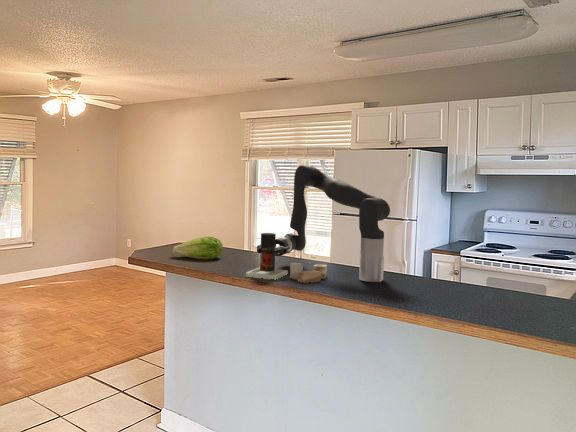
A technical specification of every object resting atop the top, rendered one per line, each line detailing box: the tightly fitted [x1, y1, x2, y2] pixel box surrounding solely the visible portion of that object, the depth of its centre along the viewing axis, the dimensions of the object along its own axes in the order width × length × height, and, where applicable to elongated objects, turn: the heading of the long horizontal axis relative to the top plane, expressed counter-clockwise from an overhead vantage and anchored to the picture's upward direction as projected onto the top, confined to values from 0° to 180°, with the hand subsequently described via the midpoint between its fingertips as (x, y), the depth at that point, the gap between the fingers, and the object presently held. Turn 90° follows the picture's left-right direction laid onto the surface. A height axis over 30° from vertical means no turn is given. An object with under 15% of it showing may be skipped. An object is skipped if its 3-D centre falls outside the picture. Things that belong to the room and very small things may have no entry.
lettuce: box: [172, 236, 224, 260], centre depth 238 cm, size 12×24×13 cm
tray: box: [245, 267, 289, 281], centre depth 198 cm, size 13×13×2 cm
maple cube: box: [312, 263, 328, 280], centre depth 199 cm, size 5×5×5 cm
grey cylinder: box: [289, 262, 304, 280], centre depth 195 cm, size 5×5×6 cm
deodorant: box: [259, 232, 277, 272], centre depth 198 cm, size 6×6×15 cm
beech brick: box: [297, 269, 321, 284], centre depth 190 cm, size 4×8×4 cm, turn 125°
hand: (265, 251), depth 196 cm, fingers closed on deodorant, 6 cm apart
